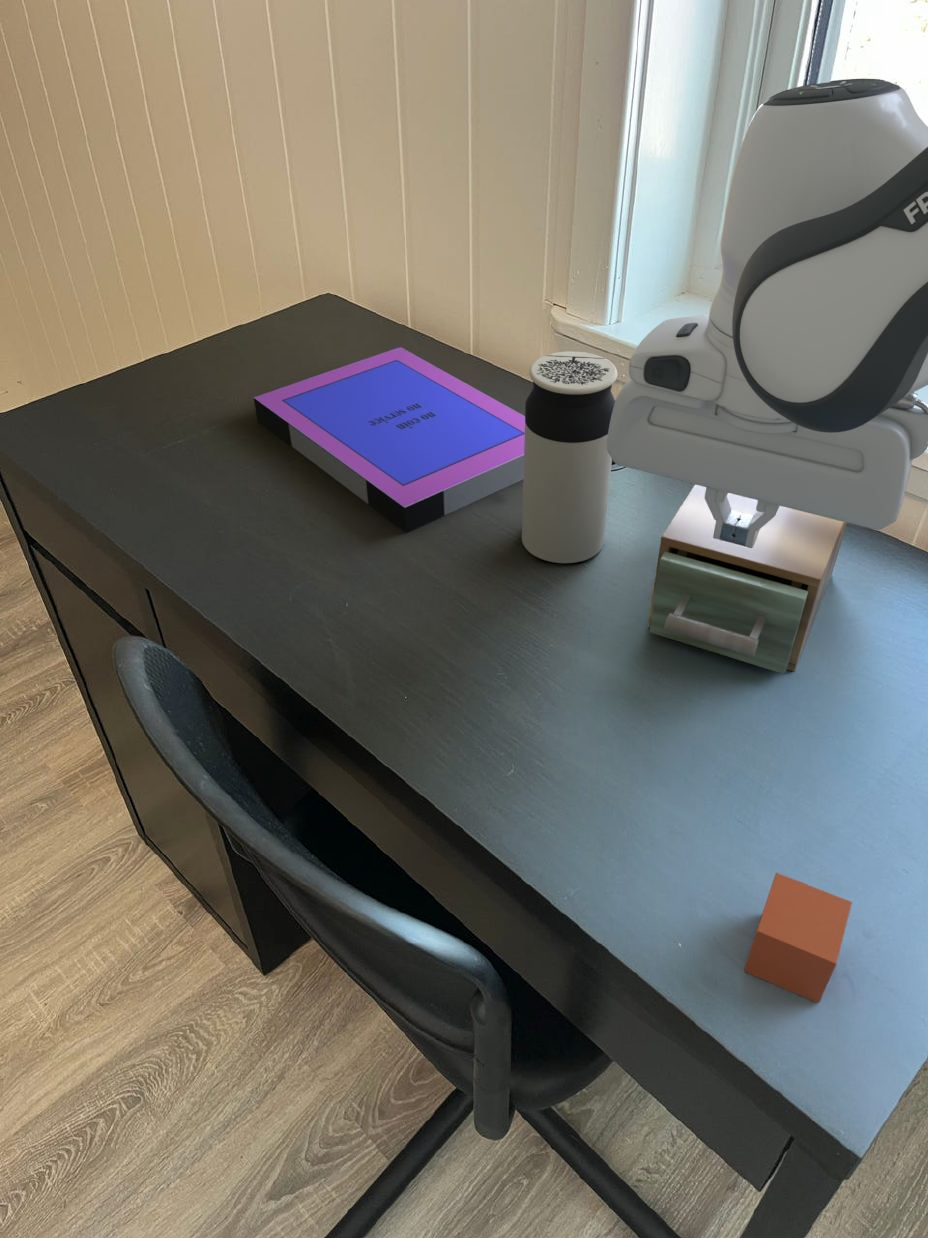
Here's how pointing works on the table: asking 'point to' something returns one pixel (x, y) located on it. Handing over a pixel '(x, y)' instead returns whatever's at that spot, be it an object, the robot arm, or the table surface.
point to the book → (400, 435)
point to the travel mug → (567, 456)
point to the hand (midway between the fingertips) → (734, 539)
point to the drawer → (728, 609)
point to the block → (798, 937)
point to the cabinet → (763, 549)
